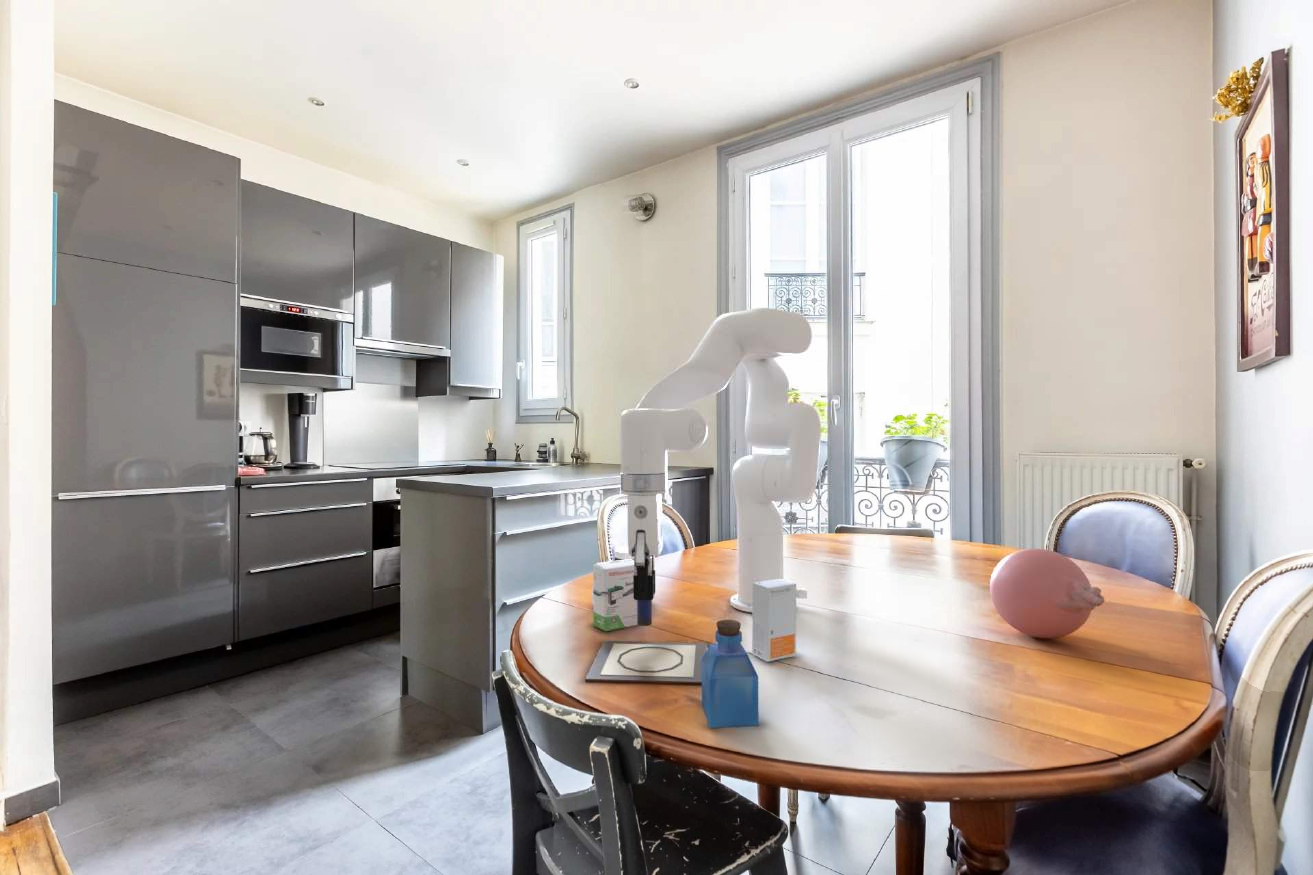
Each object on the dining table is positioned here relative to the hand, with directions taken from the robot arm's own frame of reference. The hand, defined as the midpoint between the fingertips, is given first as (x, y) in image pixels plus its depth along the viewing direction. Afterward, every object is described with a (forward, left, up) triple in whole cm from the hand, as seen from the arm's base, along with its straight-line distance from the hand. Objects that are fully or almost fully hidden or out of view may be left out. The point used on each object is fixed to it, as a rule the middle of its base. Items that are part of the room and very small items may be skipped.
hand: (644, 595), depth 99 cm
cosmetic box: (-21, -2, -10) cm, 24 cm away
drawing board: (-1, +2, -10) cm, 10 cm away
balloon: (-69, -12, -10) cm, 71 cm away
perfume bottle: (-13, +19, -10) cm, 25 cm away
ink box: (+7, -16, -10) cm, 20 cm away
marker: (0, 0, -5) cm, 5 cm away
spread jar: (+8, -28, -10) cm, 31 cm away
